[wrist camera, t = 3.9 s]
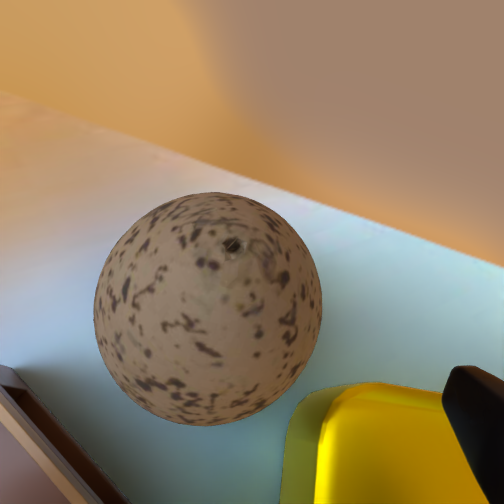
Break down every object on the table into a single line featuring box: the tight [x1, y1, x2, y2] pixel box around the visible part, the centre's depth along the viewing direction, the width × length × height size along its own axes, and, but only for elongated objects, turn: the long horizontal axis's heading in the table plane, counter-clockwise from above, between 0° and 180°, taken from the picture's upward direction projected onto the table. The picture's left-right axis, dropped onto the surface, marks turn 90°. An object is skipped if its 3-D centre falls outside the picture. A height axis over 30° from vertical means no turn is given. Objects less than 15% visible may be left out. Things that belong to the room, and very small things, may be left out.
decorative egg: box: [93, 192, 322, 426], centre depth 13 cm, size 7×7×10 cm
